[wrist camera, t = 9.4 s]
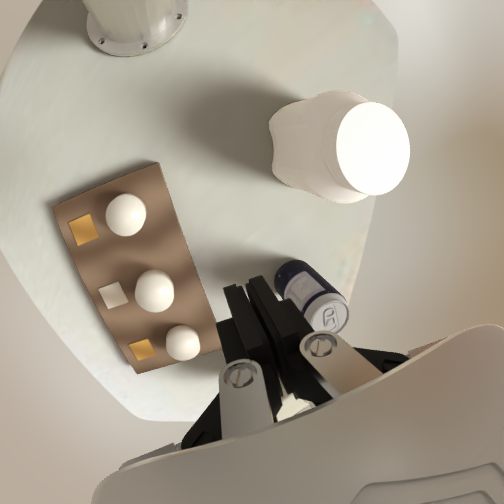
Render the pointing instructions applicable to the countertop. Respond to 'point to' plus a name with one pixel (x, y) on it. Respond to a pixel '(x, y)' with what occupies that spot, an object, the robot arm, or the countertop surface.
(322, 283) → the beverage can
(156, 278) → the button middle
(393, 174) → the jar
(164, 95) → the countertop surface
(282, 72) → the countertop surface
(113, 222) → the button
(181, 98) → the countertop surface
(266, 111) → the countertop surface
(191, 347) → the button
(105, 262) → the button board
